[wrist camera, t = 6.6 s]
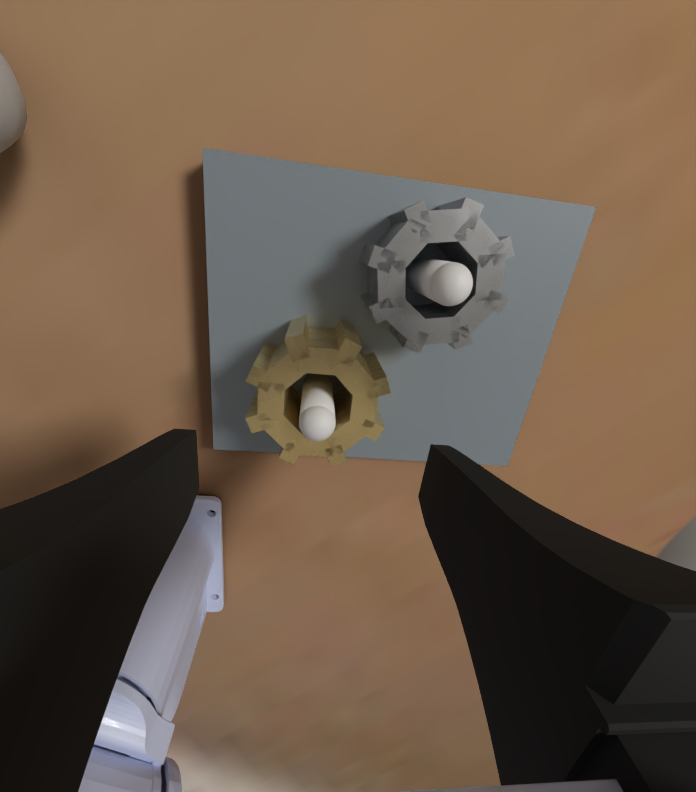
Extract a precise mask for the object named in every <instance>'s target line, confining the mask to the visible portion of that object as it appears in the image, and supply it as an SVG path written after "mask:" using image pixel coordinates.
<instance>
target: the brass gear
mask: <svg viewBox="0 0 696 792" xmlns="http://www.w3.org/2000/svg"><path fill="white" fill-rule="evenodd" d="M361 348H362V344H361V342H360V340H359V337H358V335H357V333H356V330H355V328H354V326H352V325H351V324H349V323H347V322H345V321H343V320H341V319H340V320H339V322H338V324H337V326H336V328H335V329H333V328H323V327H313V326H310V325H309V322H308V319H307V316H303V317H299V318H296V319H293V320H291V322H290V325H289V328H288V330H287V333H286V336H285V339H284V340H283V341H282V342H281V343H280V344H278V345H277V346H274V345H272V344H270V343H268V342H265V344H264V346H263V348H262V349H261V351H260V353H259V355H258V357H257V359H256V361H255V362H254V364H253V366H252V368H251V370H250V372H249V375H248V377H247V379H246V381H245V382H247V383H250V384H252V385H254V386H256V387H258V389H257V391H256V394H255V396H254V398H253V401H252V403H251V405H250V408H249V410H248V413H247V415H246V417H245V419H246V422H247V424H248V426H249V428H250V430H251V433H255V432H258V431H262V430H265V431H266V432H267V433H268V434H269V435H270V436H271V437H272V438H273V439H274V440H275V441H276V442H277V443H278V444H279V445H280V446H281V448H280V453H279V459H282V460H284V461H286V462H289V463H291V464H295V462H296V460H297V459H298V457H299V455H303V456H320V457H328V460H329V463H330V466H335V465H338V464H342V463H345V462H347V460H346V452H345V451H346V450H347V449H349V448H350V447H352V446H353V445H354V444H356V443H357V442H358V441H360V440H361V439H363V438H364V437H368V438H370V439H372V440H374V441H376V440H377V439H378V437H379V436H380V434H381V433H382V431H383V430H384V428H385V427H384V424H383V422H382V419H381V416H380V413H379V410H378V408H377V402H378V397H379V396H383V395H386V394H390V393H391V392H390V388H389V384H388V380H387V376H386V374H385V372H384V370H383V369H382V367H381V365H380V363H379V361H378V359H377V357H376V355H375V353H374V351H373V352H370V353H366V354H363V353H362V352H361V351H360V350H361ZM306 373H312V374H324V375H335V376H336V377H337V378H338V379H339V380H340V381H341V383H342V384H343V385H344V388H343V389H341V390H340V391H339V392H338V393H336V394H335V395H334V396H333V398H334V408H335V419H336V426H335V429H334V431H333V433H332V434H331V436H329V437H328V438H327V439H325V440H322V441H312V440H310V439H308V438H306V437H305V436H304V435H303V434H302V432H301V430H300V428H299V416H300V407H301V398H302V395H301V394H300V393H299V392H298V391H297V390H296V389H295V388H294V387H293V386H292V384H293V383H295V382H296V381H297V380H298V379H300V378H301V377H302V376H303V375H305V374H306Z"/></svg>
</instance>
